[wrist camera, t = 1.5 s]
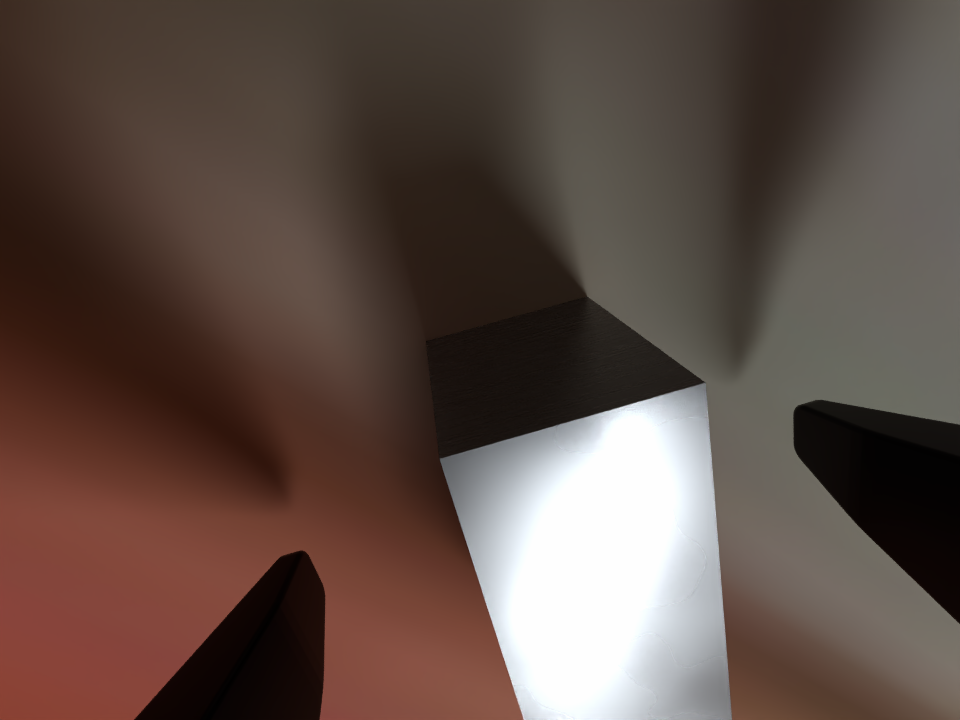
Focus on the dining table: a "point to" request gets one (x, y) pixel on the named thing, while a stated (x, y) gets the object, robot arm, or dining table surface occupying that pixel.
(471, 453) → the silver metal block
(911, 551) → the robot arm
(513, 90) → the dining table surface
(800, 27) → the dining table surface
